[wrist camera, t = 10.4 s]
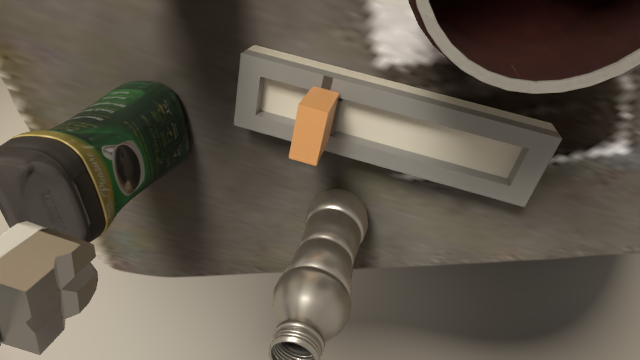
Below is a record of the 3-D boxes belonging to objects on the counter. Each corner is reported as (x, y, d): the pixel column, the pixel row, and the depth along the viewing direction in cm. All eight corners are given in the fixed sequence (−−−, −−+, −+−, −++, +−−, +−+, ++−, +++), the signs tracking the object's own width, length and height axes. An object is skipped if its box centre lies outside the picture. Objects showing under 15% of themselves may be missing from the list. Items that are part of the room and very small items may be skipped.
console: (551, 123, 38) (562, 139, 35) (517, 188, 41) (524, 207, 38) (254, 44, 40) (240, 53, 37) (246, 112, 44) (233, 125, 41)
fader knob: (345, 88, 38) (331, 113, 33) (334, 136, 41) (319, 166, 35) (314, 79, 38) (294, 103, 33) (304, 127, 41) (285, 156, 35)
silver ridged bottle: (350, 171, 45) (302, 313, 28) (382, 220, 47) (356, 380, 30) (301, 194, 47) (230, 337, 30) (333, 240, 49) (284, 397, 32)
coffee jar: (113, 78, 45) (-55, 151, 30) (180, 78, 44) (40, 155, 28) (137, 160, 50) (3, 261, 34) (198, 162, 48) (87, 270, 32)
